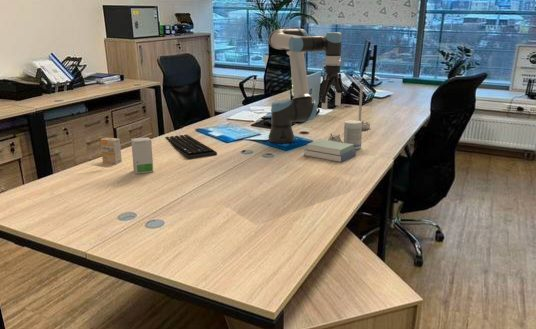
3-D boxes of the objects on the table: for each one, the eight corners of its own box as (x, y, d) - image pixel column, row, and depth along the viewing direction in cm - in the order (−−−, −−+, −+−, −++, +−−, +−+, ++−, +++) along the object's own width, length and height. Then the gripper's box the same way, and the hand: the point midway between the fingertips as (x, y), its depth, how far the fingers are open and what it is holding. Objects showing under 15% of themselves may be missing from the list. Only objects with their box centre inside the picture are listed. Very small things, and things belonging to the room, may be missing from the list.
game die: (348, 140, 240) (337, 155, 243) (344, 135, 248) (334, 149, 251) (334, 132, 238) (323, 147, 241) (331, 127, 246) (321, 142, 249)
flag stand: (371, 132, 283) (374, 85, 275) (350, 132, 284) (353, 85, 275) (367, 128, 296) (369, 82, 287) (347, 128, 296) (349, 83, 287)
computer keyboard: (162, 143, 264) (162, 136, 263) (188, 139, 272) (188, 133, 271) (188, 161, 227) (187, 154, 225) (217, 157, 234) (216, 149, 233)
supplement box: (102, 164, 220) (99, 139, 217) (109, 162, 225) (106, 137, 221) (116, 166, 218) (113, 140, 214) (122, 163, 222) (119, 138, 218)
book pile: (303, 155, 234) (304, 144, 232) (319, 149, 246) (319, 138, 244) (341, 162, 221) (341, 150, 219) (355, 155, 233) (356, 144, 231)
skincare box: (136, 174, 205) (133, 141, 201) (133, 170, 211) (130, 138, 206) (154, 171, 209) (151, 139, 204) (151, 168, 215) (148, 136, 210)
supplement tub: (364, 148, 247) (366, 122, 242) (352, 150, 242) (353, 124, 238) (352, 144, 255) (353, 119, 250) (339, 147, 250) (340, 121, 245)
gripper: (326, 66, 208) (325, 111, 215) (351, 63, 227) (349, 104, 234) (312, 66, 213) (311, 110, 219) (338, 62, 232) (336, 103, 238)
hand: (331, 107), depth 226 cm, fingers open, 13 cm apart
